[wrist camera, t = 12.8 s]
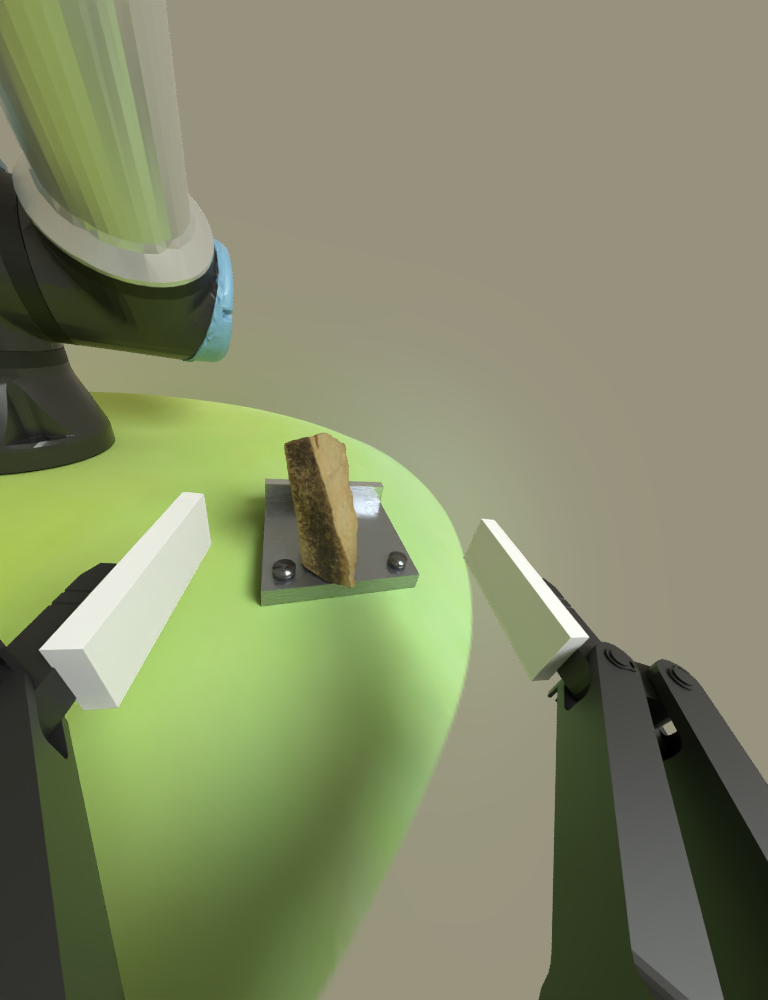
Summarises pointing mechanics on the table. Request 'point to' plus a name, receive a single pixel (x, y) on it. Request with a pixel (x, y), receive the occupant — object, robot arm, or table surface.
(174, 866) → the table surface
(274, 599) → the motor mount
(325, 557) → the rock
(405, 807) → the table surface
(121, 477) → the table surface
